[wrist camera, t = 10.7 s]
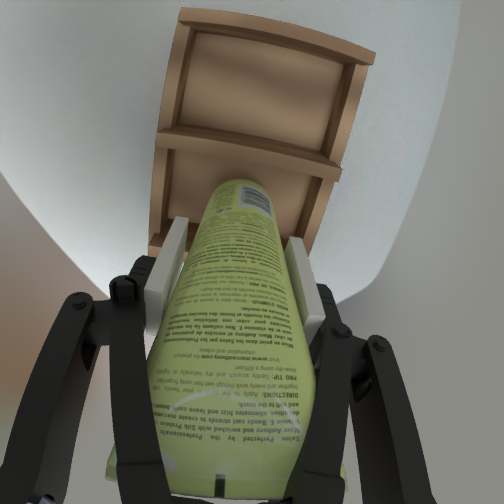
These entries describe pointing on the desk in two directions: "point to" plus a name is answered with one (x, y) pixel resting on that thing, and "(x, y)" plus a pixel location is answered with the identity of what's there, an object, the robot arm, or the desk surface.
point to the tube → (231, 359)
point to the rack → (253, 119)
